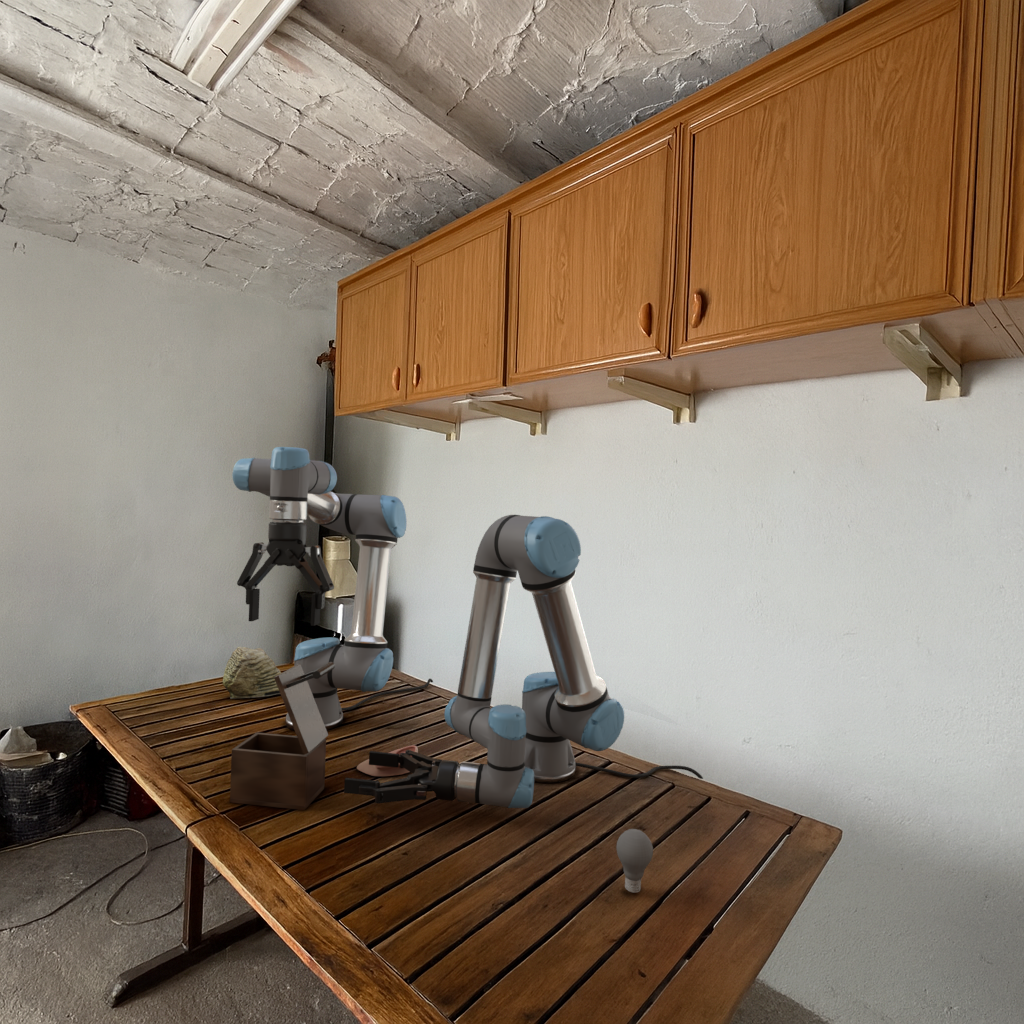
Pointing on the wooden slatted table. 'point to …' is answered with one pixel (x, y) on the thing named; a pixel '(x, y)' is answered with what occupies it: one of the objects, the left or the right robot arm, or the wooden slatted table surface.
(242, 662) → the fossil
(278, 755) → the chest
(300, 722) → the lid
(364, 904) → the wooden slatted table surface
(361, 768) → the anatomical model
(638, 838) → the light bulb
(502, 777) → the right robot arm
